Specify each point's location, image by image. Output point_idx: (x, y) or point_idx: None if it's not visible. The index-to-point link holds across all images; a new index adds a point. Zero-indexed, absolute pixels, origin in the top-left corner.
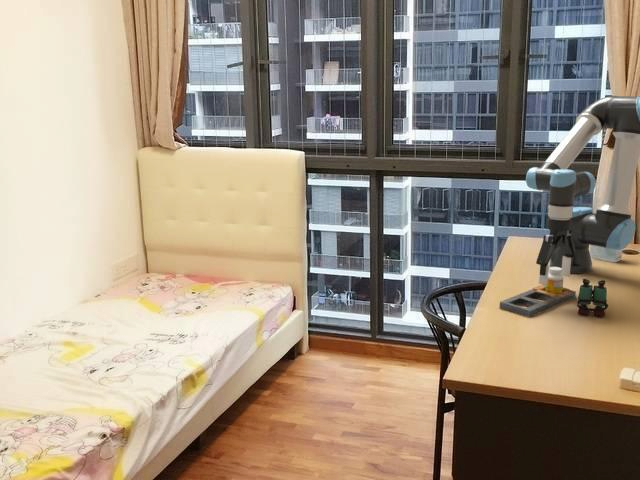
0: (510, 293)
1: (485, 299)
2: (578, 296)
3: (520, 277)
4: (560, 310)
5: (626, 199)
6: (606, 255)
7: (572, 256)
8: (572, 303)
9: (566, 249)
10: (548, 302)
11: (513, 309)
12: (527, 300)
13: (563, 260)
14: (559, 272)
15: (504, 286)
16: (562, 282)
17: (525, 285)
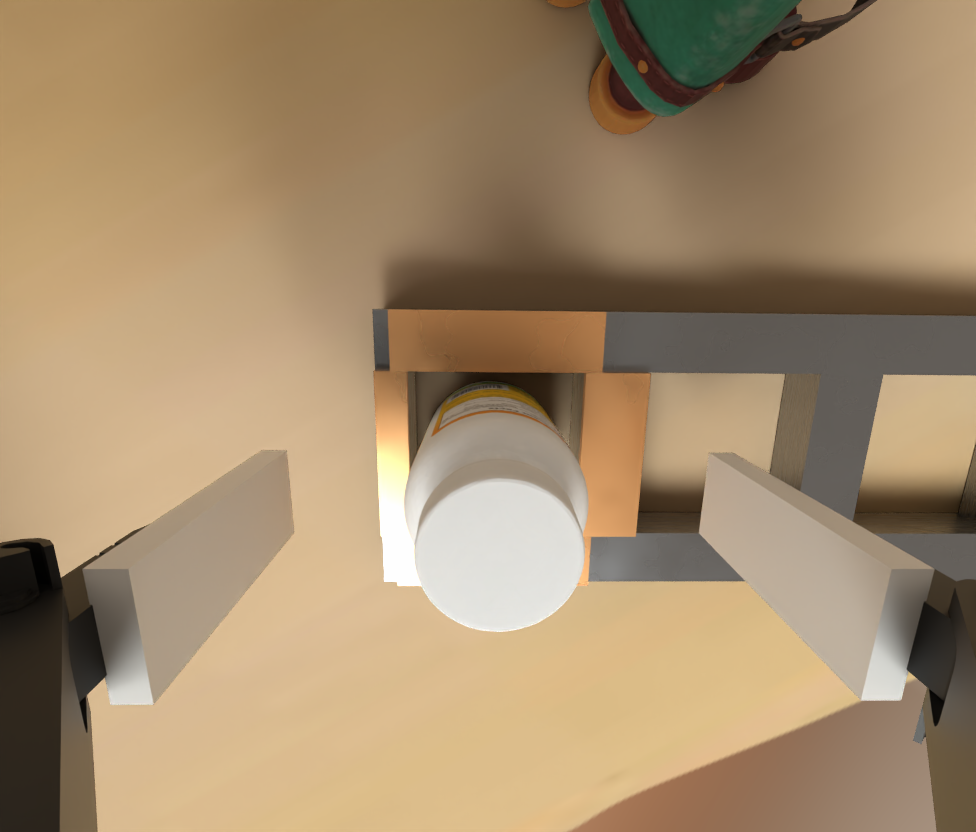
0: (654, 659)
1: None
2: (723, 73)
3: (304, 786)
4: (755, 230)
5: None
6: None
7: (33, 572)
8: (535, 248)
9: (72, 800)
10: (811, 324)
11: None
12: (862, 467)
13: (193, 635)
14: (532, 469)
15: (553, 753)
16: (485, 406)
17: (428, 684)
